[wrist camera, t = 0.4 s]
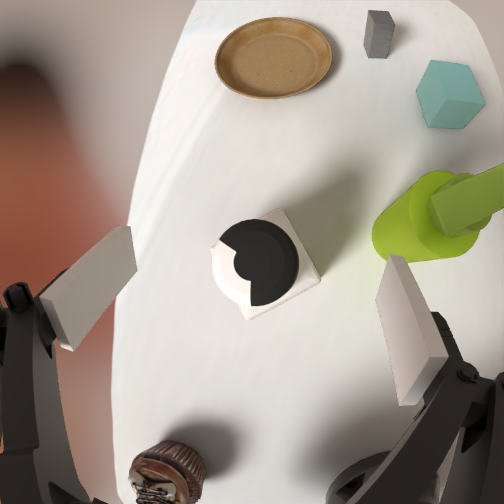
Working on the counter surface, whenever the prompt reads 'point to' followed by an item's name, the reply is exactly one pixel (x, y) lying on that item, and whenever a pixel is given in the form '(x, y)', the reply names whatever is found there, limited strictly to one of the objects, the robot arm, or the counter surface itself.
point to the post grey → (378, 33)
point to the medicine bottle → (262, 264)
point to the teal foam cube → (449, 95)
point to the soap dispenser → (439, 215)
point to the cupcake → (167, 474)
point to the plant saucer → (273, 58)
